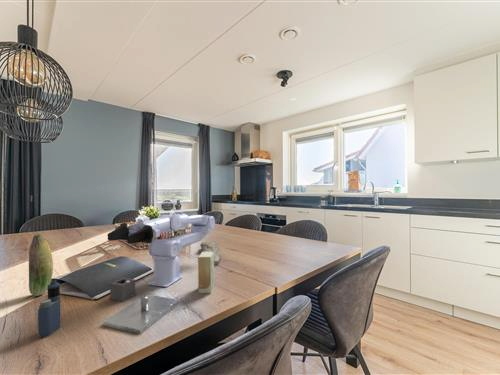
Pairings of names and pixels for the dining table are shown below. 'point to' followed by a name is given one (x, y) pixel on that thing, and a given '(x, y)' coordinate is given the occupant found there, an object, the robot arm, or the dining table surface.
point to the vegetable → (39, 265)
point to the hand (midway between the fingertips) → (118, 238)
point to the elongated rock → (212, 248)
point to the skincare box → (206, 272)
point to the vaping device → (50, 311)
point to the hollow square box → (122, 289)
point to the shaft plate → (141, 313)
